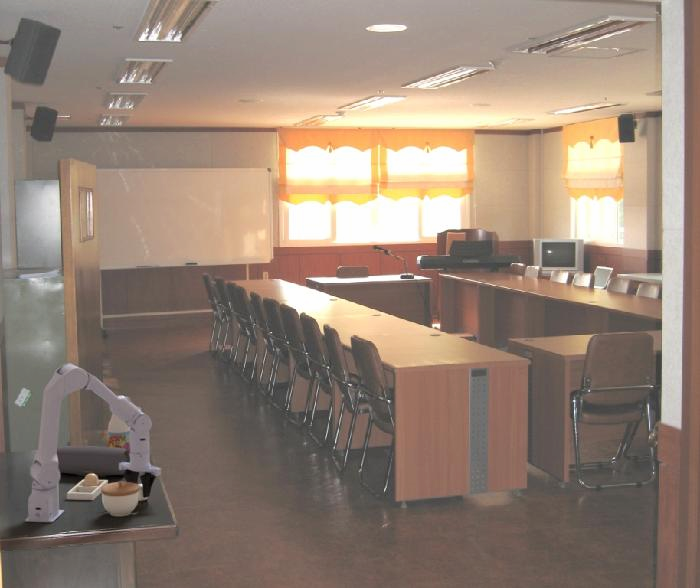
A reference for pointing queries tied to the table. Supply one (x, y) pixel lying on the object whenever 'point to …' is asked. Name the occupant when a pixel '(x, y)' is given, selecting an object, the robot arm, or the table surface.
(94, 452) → the bluetooth speaker
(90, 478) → the brown egg
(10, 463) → the table surface
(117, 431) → the milk bottle
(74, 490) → the white divided tray
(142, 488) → the white egg
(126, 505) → the lidded jar
